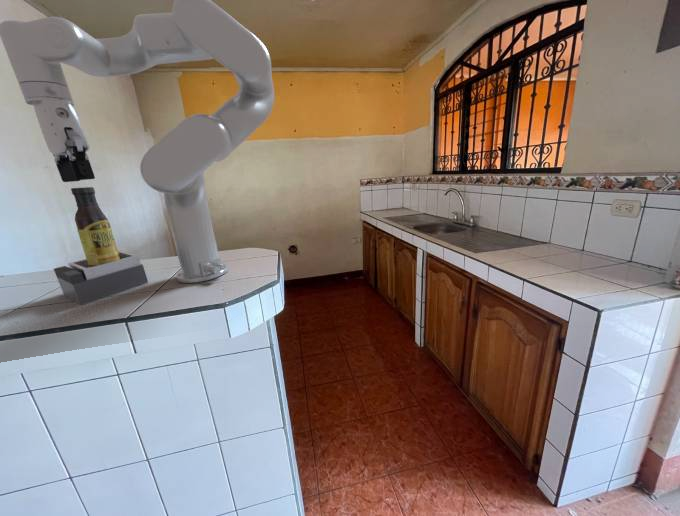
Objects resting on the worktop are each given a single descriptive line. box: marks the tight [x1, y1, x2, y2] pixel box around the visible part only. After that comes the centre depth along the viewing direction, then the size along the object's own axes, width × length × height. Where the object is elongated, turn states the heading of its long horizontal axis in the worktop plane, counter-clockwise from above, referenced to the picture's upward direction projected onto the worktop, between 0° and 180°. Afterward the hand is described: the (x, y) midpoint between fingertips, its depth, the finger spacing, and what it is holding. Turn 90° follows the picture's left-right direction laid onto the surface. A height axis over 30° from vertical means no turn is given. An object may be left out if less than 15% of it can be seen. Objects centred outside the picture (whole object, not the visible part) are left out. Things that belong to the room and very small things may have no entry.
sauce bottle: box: [70, 186, 120, 267], centre depth 70 cm, size 6×6×20 cm
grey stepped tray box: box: [53, 250, 149, 306], centre depth 72 cm, size 12×14×8 cm
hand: (78, 180), depth 66 cm, fingers open, 9 cm apart
